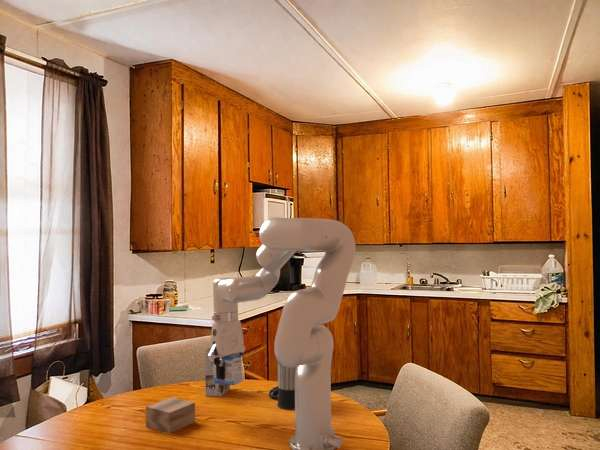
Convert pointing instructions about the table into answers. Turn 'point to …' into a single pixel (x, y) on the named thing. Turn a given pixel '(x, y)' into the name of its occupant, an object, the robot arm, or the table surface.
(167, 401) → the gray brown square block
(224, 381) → the medicine box
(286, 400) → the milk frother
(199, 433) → the table surface
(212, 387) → the coffee box
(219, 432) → the table surface
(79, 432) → the table surface
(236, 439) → the table surface
